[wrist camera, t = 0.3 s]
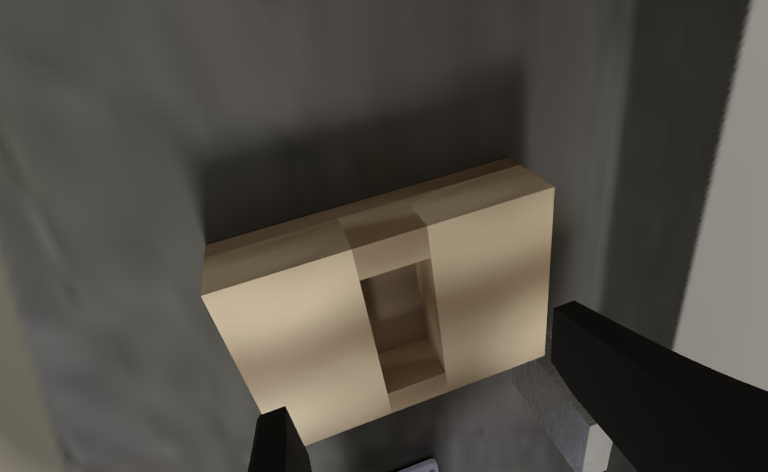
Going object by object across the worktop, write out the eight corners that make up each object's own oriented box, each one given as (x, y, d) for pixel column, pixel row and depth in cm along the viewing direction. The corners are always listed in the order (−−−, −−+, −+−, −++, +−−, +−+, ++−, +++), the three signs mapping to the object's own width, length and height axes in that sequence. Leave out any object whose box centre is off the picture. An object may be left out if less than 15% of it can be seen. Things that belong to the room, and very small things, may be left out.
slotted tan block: (509, 313, 26) (544, 355, 23) (276, 395, 24) (282, 454, 21) (508, 157, 20) (554, 186, 17) (205, 245, 18) (200, 296, 15)
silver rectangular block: (533, 374, 30) (606, 469, 24) (512, 382, 29) (580, 480, 24) (535, 321, 27) (618, 414, 21) (512, 329, 27) (589, 426, 21)
